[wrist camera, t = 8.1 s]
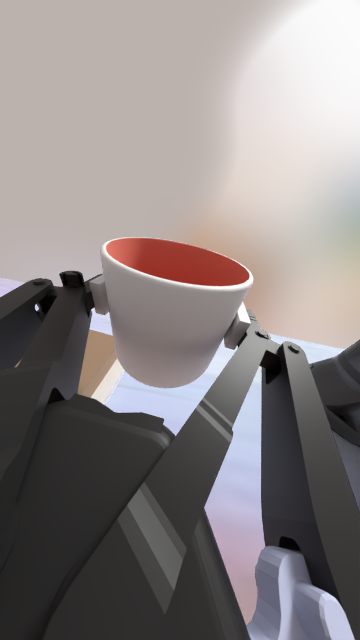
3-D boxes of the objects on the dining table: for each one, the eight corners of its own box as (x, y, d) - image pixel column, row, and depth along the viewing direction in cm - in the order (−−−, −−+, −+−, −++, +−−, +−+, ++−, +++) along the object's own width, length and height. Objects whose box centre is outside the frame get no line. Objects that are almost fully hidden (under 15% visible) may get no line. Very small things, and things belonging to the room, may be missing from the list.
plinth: (137, 349, 30) (137, 334, 27) (88, 435, 18) (79, 424, 15) (72, 331, 31) (65, 314, 28) (-17, 403, 19) (-44, 386, 16)
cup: (184, 420, 11) (244, 319, 5) (92, 356, 13) (55, 239, 7) (218, 342, 18) (258, 264, 12) (154, 311, 21) (161, 235, 15)
